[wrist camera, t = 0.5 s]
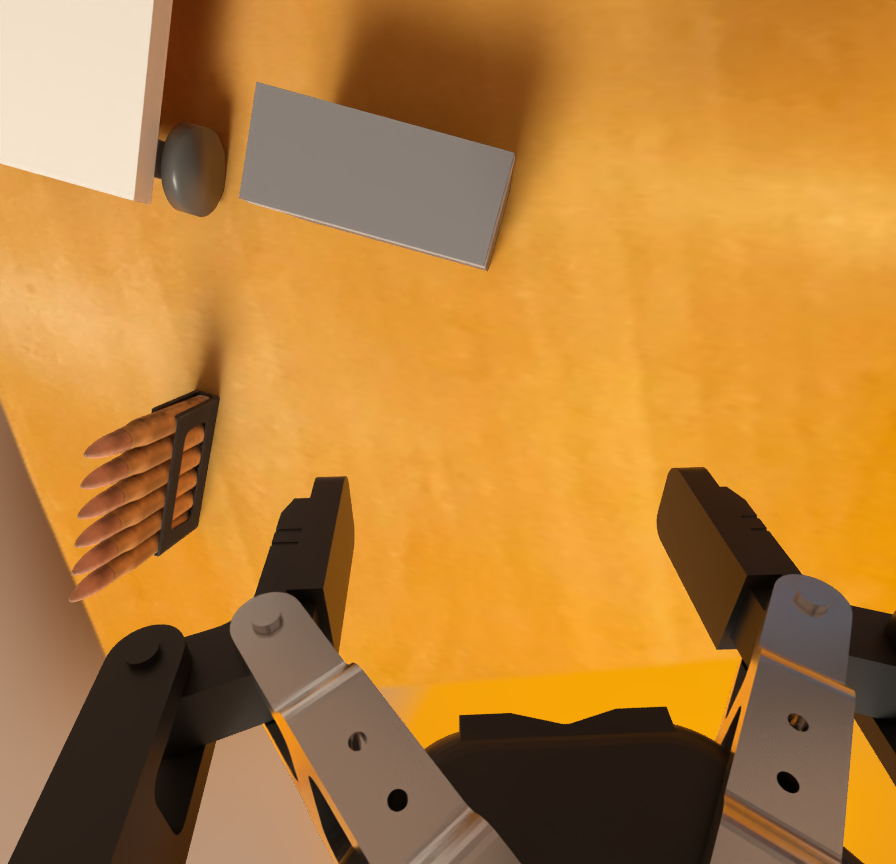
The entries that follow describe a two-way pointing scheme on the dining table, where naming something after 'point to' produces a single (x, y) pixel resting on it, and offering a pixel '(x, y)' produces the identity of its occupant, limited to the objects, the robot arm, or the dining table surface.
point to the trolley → (100, 102)
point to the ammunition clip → (145, 489)
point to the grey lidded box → (375, 176)
